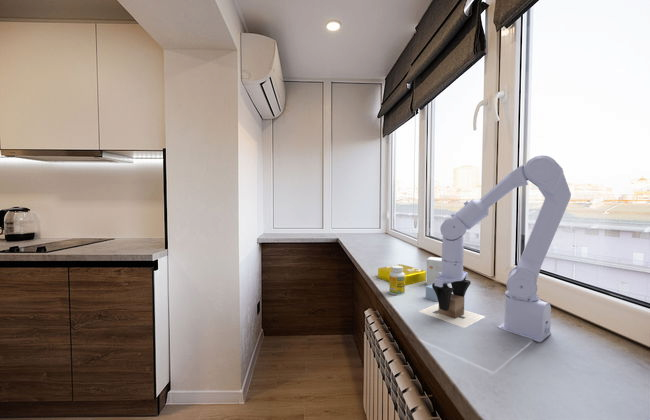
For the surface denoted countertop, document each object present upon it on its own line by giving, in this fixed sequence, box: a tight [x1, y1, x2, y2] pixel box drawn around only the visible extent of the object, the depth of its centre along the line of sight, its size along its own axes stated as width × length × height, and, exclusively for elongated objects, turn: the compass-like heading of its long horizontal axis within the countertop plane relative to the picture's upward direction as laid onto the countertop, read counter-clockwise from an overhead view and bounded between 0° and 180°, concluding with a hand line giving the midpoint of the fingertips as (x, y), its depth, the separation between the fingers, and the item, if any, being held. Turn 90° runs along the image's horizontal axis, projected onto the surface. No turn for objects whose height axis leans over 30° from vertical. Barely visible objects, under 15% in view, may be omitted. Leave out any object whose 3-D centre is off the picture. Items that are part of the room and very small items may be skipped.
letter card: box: [418, 302, 486, 329], centre depth 85 cm, size 14×12×1 cm
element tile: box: [377, 263, 427, 287], centre depth 123 cm, size 15×15×5 cm
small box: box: [426, 256, 452, 288], centre depth 113 cm, size 8×6×10 cm
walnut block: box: [439, 293, 465, 319], centre depth 85 cm, size 5×5×5 cm
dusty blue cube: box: [425, 285, 439, 303], centre depth 98 cm, size 4×4×4 cm
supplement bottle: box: [388, 265, 406, 296], centre depth 104 cm, size 5×5×10 cm
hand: (451, 306), depth 85 cm, fingers open, 7 cm apart
